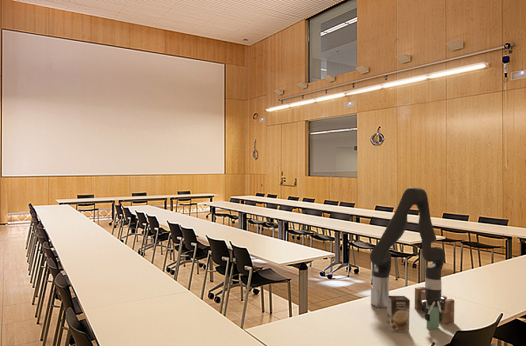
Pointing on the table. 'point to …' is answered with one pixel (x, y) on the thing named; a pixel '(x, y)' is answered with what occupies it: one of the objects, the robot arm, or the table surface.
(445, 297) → the domino
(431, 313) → the domino
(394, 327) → the coffee box
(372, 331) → the table surface
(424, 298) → the domino
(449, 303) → the domino
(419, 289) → the domino
